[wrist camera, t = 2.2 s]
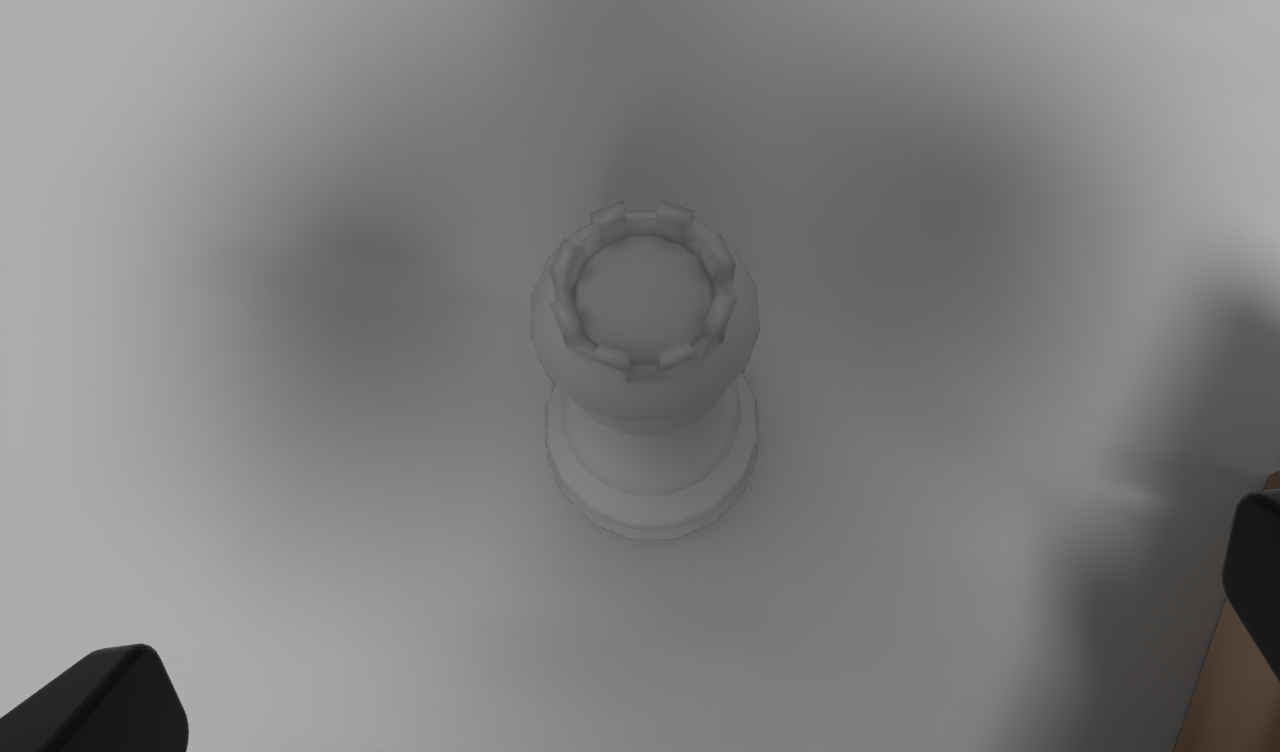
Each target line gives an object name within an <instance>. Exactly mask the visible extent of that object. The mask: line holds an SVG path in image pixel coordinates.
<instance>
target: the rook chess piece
mask: <svg viewBox="0 0 1280 752" xmlns="http://www.w3.org/2000/svg"><path fill="white" fill-rule="evenodd" d="M590 219H591V224H590V225H588V226H585V227H583V228H581V229H579V230H578V231H577V232H576V233H575V234H574V235H573V236H572V237H571V238H570V239H569V240H566V239H565V238H564V239H563V241H562V243H561V245H560V247H559V249H558V250H557V251H555V252H554V253H553V254H552V255H551V256H550V257H549V259H548V261H547V263H546V265H545V268H544V270H543V272H542V274H541V276H540V278H539V280H538V283H537V285H536V287H535V289H534V291H533V293H532V305H531V338H532V341H533V343H534V345H535V348H536V350H537V352H538V355H539V357H540V359H541V362H542V364H543V366H544V369H545V371H546V374H547V376H548V377H549V378H550V379H552V380H553V381H554V382H555V383H556V385H555V387H554V390H553V392H552V394H551V396H550V399H549V401H548V403H547V405H546V448H547V450H548V459H549V461H550V464H551V466H552V469H553V471H554V474H555V476H556V478H557V481H558V483H559V486H560V488H561V491H562V493H563V495H564V496H565V497H566V498H567V499H568V500H569V501H570V502H571V503H572V504H573V505H574V506H575V507H576V508H577V509H578V510H579V511H580V512H581V513H582V514H583V515H584V516H585V517H586V518H587V519H588V520H589V521H590V522H591V523H592V524H594V525H597V526H599V527H602V528H604V529H607V530H609V531H612V532H614V533H617V534H619V535H622V536H625V537H627V538H630V539H632V540H645V539H677V538H679V537H681V536H684V535H686V534H688V533H690V532H693V531H695V530H697V529H699V528H702V527H704V526H706V525H708V524H711V523H713V522H715V521H716V520H717V519H718V518H719V517H720V516H721V515H722V514H723V513H724V512H725V511H726V509H727V508H728V507H729V506H730V505H731V504H732V503H733V502H734V501H735V500H736V499H737V498H738V497H739V496H740V495H741V494H742V492H743V491H744V489H745V487H746V484H747V481H748V478H749V476H750V473H751V470H752V467H753V465H754V462H755V459H756V456H757V454H758V441H759V440H758V423H757V407H756V399H755V397H754V395H753V393H752V391H751V389H750V387H749V385H748V383H747V381H746V379H745V377H744V375H743V372H744V370H745V368H746V365H747V363H748V360H749V357H750V355H751V352H752V349H753V347H754V344H755V341H756V339H757V336H758V334H759V331H760V328H759V312H758V296H757V288H756V286H755V284H754V282H753V280H752V278H751V276H750V274H749V272H748V271H747V269H746V267H745V265H744V263H743V261H742V259H741V257H740V255H739V253H738V252H737V251H736V250H735V249H734V248H733V247H731V246H730V245H729V244H728V243H726V242H725V241H724V240H723V238H722V236H721V235H720V234H719V235H717V234H716V233H714V232H713V231H712V230H711V229H710V228H708V227H707V226H706V225H704V224H701V223H698V222H695V221H693V211H690V210H687V209H684V208H681V207H678V206H675V205H672V204H669V203H666V202H663V201H660V200H659V204H658V209H657V211H650V212H626V211H625V207H624V203H623V201H622V202H620V203H617V204H615V205H612V206H609V207H607V208H604V209H602V210H599V211H597V212H594V213H592V214H590Z"/></svg>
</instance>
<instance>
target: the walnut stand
mask: <svg viewBox="0 0 1280 752" xmlns="http://www.w3.org/2000/svg"><path fill="white" fill-rule="evenodd" d="M1279 488H1280V471H1279V472H1276V473H1273V474H1270V475H1269V477H1268V480H1267V483H1266V486H1265V489H1264V491H1265V490H1272V489H1279ZM1173 752H1280V683H1279V681H1278V680H1277V678H1276V677H1275V675H1274V673H1273V672H1272V670H1271V669H1270V667H1269V665H1268V664H1267V662H1266V661H1265V659H1264V657H1263V656H1262V654H1261V653H1260V651H1259V649H1258V648H1257V646H1256V645H1255V643H1254V641H1253V640H1252V638H1251V637H1250V635H1249V633H1248V632H1247V630H1246V629H1245V627H1244V625H1243V624H1242V622H1241V621H1240V619H1239V617H1238V616H1237V614H1236V613H1235V611H1234V609H1233V608H1232V606H1231V604H1230V602H1229V601H1228V599H1227V598H1226V601H1225V604H1224V607H1223V610H1222V613H1221V616H1220V619H1219V621H1218V624H1217V627H1216V630H1215V633H1214V636H1213V639H1212V642H1211V644H1210V647H1209V650H1208V653H1207V656H1206V659H1205V662H1204V665H1203V667H1202V670H1201V673H1200V676H1199V679H1198V682H1197V685H1196V688H1195V690H1194V693H1193V696H1192V699H1191V702H1190V705H1189V708H1188V711H1187V714H1186V716H1185V719H1184V722H1183V725H1182V728H1181V731H1180V734H1179V737H1178V739H1177V742H1176V745H1175V748H1174V751H1173Z"/></svg>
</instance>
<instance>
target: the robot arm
mask: <svg viewBox="0 0 1280 752" xmlns="http://www.w3.org/2000/svg"><path fill="white" fill-rule="evenodd" d="M1222 581H1223V586H1224V591H1225V593H1226V596H1227V599H1228V601H1229V602H1230V604H1231V606H1232V608H1233V609H1234V611H1235V613H1236V614H1237V616H1238V617H1239V619H1240V621H1241V622H1242V624H1243V625H1244V627H1245V629H1246V630H1247V632H1248V633H1249V635H1250V637H1251V638H1252V640H1253V641H1254V643H1255V645H1256V646H1257V648H1258V649H1259V651H1260V653H1261V654H1262V656H1263V657H1264V659H1265V661H1266V662H1267V664H1268V665H1269V667H1270V669H1271V670H1272V672H1273V673H1274V675H1275V677H1276V678H1277V680H1278V681H1279V683H1280V488H1279V489H1272V490H1265V491H1258V492H1252V493H1249V494H1247V495H1245V496H1244V497H1243V498H1242V499H1241V500H1240V501H1239V503H1238V504H1237V507H1236V510H1235V514H1234V518H1233V523H1232V527H1231V532H1230V537H1229V541H1228V546H1227V550H1226V555H1225V560H1224V564H1223V570H1222ZM188 736H189V729H188V721H187V716H186V713H185V711H184V708H183V706H182V704H181V702H180V700H179V698H178V695H177V693H176V691H175V689H174V687H173V685H172V682H171V680H170V678H169V676H168V674H167V672H166V669H165V667H164V665H163V663H162V661H161V659H160V657H159V655H158V653H157V652H156V651H155V650H154V649H153V648H152V647H150V646H149V645H145V644H133V645H125V646H118V647H111V648H104V649H99V650H96V651H94V652H91V653H90V654H88V655H87V656H85V657H84V658H83V659H81V660H80V661H78V662H77V663H76V664H74V665H73V666H72V667H70V668H69V669H67V670H66V671H65V672H63V673H62V674H61V675H59V676H58V677H57V678H55V679H54V680H52V681H51V682H50V683H48V684H47V685H46V686H44V687H43V688H41V689H40V690H39V691H37V692H36V693H35V694H33V695H32V696H30V697H29V698H28V699H26V700H25V701H24V702H22V703H21V704H19V705H18V706H17V707H15V708H14V709H13V710H11V711H10V712H9V713H7V714H6V715H4V716H3V717H2V718H0V752H186V750H187V745H188Z"/></svg>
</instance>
